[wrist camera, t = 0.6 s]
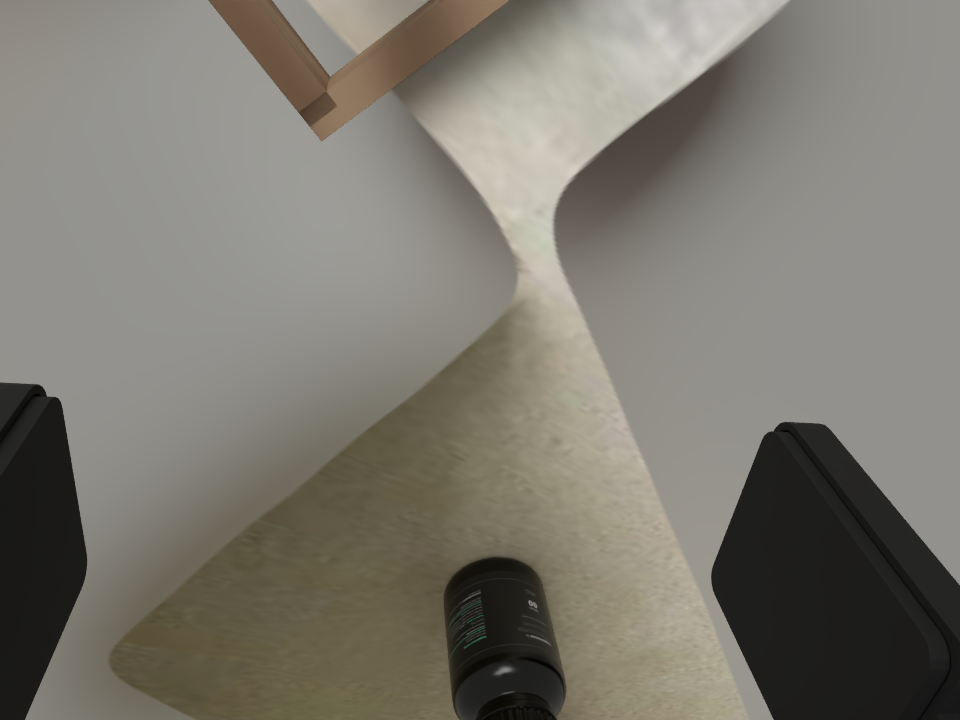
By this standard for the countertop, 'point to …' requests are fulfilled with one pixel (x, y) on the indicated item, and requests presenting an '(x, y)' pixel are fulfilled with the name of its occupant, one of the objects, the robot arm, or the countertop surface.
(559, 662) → the supplement bottle
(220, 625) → the countertop surface
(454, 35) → the wooden u-shaped frame
